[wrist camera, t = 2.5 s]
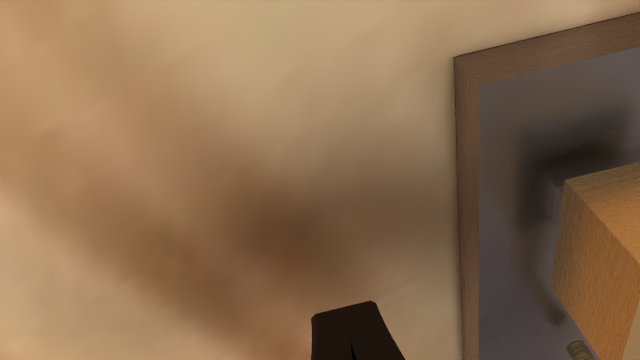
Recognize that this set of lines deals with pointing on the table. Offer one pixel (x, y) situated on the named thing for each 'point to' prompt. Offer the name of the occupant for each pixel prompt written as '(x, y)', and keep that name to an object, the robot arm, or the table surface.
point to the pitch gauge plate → (534, 173)
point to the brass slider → (601, 262)
